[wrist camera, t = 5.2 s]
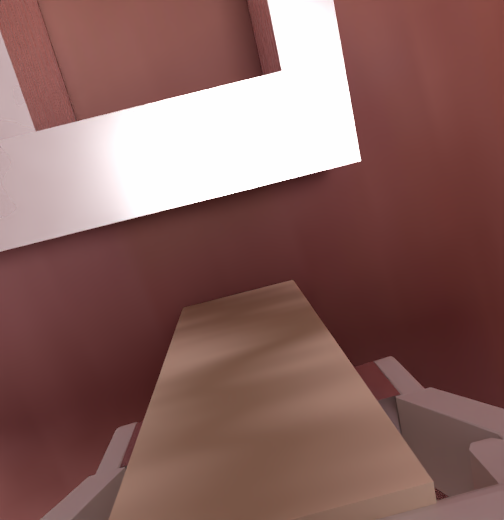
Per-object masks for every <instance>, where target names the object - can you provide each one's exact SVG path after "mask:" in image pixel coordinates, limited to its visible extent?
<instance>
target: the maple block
mask: <svg viewBox="0 0 504 520" xmlns="http://www.w3.org/2000/svg"><path fill="white" fill-rule="evenodd" d="M436 503H437V500H436V494H435V488H434V482H433V480H432V479H431V477H430V476H429V474H428V473H427V472H426V470H425V469H424V467H423V466H422V464H421V463H420V462H419V460H418V459H417V457H416V456H415V454H414V453H413V451H412V450H411V449H410V447H409V446H408V444H407V443H406V441H405V440H404V439H403V437H402V436H401V434H400V433H399V431H398V430H397V428H396V427H395V426H394V424H393V423H392V421H391V420H390V418H389V417H388V415H387V414H386V413H385V411H384V410H383V408H382V407H381V405H380V404H379V403H378V401H377V400H376V398H375V397H374V395H373V394H372V392H371V391H370V390H369V388H368V387H367V385H366V384H365V382H364V381H363V380H362V378H361V377H360V375H359V374H358V372H357V371H356V369H355V368H354V367H353V365H352V364H351V362H350V361H349V359H348V358H347V357H346V355H345V354H344V352H343V351H342V349H341V348H340V346H339V345H338V344H337V342H336V341H335V339H334V338H333V336H332V335H331V334H330V332H329V331H328V329H327V328H326V326H325V325H324V323H323V322H322V321H321V319H320V318H319V316H318V315H317V313H316V312H315V310H314V309H313V308H312V306H311V305H310V303H309V302H308V300H307V299H306V298H305V296H304V295H303V293H302V292H301V290H300V289H299V287H298V286H297V285H296V283H295V282H294V280H289V281H286V282H282V283H278V284H274V285H270V286H266V287H262V288H258V289H254V290H250V291H246V292H243V293H239V294H235V295H231V296H227V297H223V298H219V299H215V300H211V301H207V302H203V303H199V304H196V305H192V306H188V307H184V308H183V309H182V312H181V315H180V318H179V321H178V323H177V326H176V329H175V332H174V335H173V338H172V340H171V343H170V346H169V349H168V352H167V355H166V358H165V360H164V363H163V366H162V369H161V372H160V375H159V378H158V380H157V383H156V386H155V389H154V392H153V395H152V397H151V400H150V403H149V406H148V409H147V412H146V415H145V417H144V420H143V423H142V426H141V429H140V432H139V434H138V437H137V440H136V443H135V446H134V449H133V452H132V454H131V457H130V460H129V463H128V466H127V469H126V471H125V474H124V477H123V480H122V483H121V486H120V489H119V491H118V494H117V497H116V500H115V503H114V506H113V509H112V511H111V514H110V517H109V520H376V519H380V518H384V517H388V516H391V515H395V514H399V513H403V512H406V511H410V510H414V509H418V508H421V507H425V506H429V505H433V504H436Z"/></svg>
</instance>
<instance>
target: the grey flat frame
mask: <svg viewBox="0 0 504 520" xmlns="http://www.w3.org/2000/svg"><path fill="white" fill-rule="evenodd" d="M247 4H248V9H249V13H250V18H251V22H252V27H253V32H254V36H255V41H256V45H257V50H258V54H259V59H260V64H261V68H262V73H263V76H259V77H255V78H251V79H247V80H243V81H239V82H235V83H231V84H227V85H223V86H219V87H215V88H211V89H206V90H202V91H198V92H194V93H190V94H186V95H182V96H178V97H174V98H170V99H166V100H162V101H158V102H154V103H150V104H146V105H142V106H137V107H133V108H129V109H125V110H121V111H117V112H113V113H109V114H105V115H101V116H97V117H93V118H89V119H85V120H81V121H76V118H75V115H74V112H73V109H72V106H71V103H70V100H69V97H68V94H67V91H66V88H65V85H64V82H63V79H62V76H61V73H60V70H59V66H58V63H57V60H56V57H55V54H54V51H53V48H52V45H51V42H50V39H49V36H48V33H47V30H46V27H45V24H44V21H43V18H42V15H41V12H40V9H39V6H38V3H37V0H0V252H1V251H5V250H9V249H13V248H17V247H21V246H25V245H29V244H33V243H36V242H40V241H44V240H48V239H52V238H56V237H60V236H64V235H68V234H72V233H76V232H80V231H84V230H88V229H92V228H96V227H100V226H104V225H108V224H112V223H116V222H120V221H124V220H128V219H132V218H136V217H140V216H144V215H148V214H152V213H156V212H160V211H164V210H168V209H172V208H176V207H180V206H184V205H188V204H192V203H196V202H200V201H204V200H208V199H212V198H216V197H220V196H224V195H228V194H232V193H236V192H240V191H244V190H248V189H252V188H256V187H260V186H264V185H268V184H272V183H276V182H280V181H284V180H288V179H292V178H296V177H300V176H304V175H308V174H312V173H316V172H320V171H324V170H328V169H332V168H336V167H340V166H344V165H348V164H352V163H356V162H360V161H361V158H360V152H359V146H358V141H357V135H356V129H355V123H354V118H353V112H352V106H351V100H350V94H349V89H348V83H347V77H346V71H345V65H344V60H343V54H342V48H341V42H340V37H339V31H338V25H337V19H336V13H335V8H334V2H333V0H247Z"/></svg>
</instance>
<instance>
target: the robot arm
mask: <svg viewBox="0 0 504 520" xmlns="http://www.w3.org/2000/svg"><path fill="white" fill-rule="evenodd" d="M354 368H355V369H356V371H357V372H358V374H359V375H360V377H361V378H362V380H363V381H364V382H365V384H366V385H367V387H368V388H369V390H370V391H371V392H372V394H373V395H374V397H375V398H376V400H377V401H378V403H379V404H380V405H381V407H382V408H383V410H384V411H385V413H386V414H387V415H388V417H389V418H390V420H391V421H392V423H393V424H394V426H395V427H396V428H397V430H398V431H399V433H400V434H401V436H402V437H403V439H404V440H405V441H406V443H407V444H408V446H409V447H410V449H411V450H412V451H413V453H414V454H415V456H416V457H417V459H418V460H419V462H420V463H421V464H422V466H423V467H424V469H425V470H426V472H427V473H428V474H429V476H430V477H431V479H432V480H433V482H434V487H435V488H436V489H438V490H439V491H441V492H442V493H444V494H445V495H447V496H448V497H447V498H443V499H440V500H437V503H436V504H433V505H429V506H425V507H421V508H418V509H414V510H410V511H406V512H403V513H399V514H395V515H391V516H388V517H384V518H380V519H376V520H504V409H503V408H499V407H496V406H493V405H489V404H486V403H482V402H479V401H476V400H472V399H469V398H466V397H462V396H459V395H455V394H452V393H449V392H445V391H442V390H439V389H435V388H432V387H430V388H426V389H425V388H424V387H423V386H422V385H421V384H420V383H419V382H418V381H417V380H416V379H415V378H414V377H413V376H412V375H411V374H410V373H409V372H408V371H407V370H406V369H405V368H404V367H403V366H402V365H401V364H400V363H399V362H398V361H397V360H396V359H395V358H394V357H392V356H389V357H385V358H382V359H379V360H375V361H372V362H369V363H365V364H362V365H358V366H355V367H354ZM142 423H143V421H140V422H135V423H131V424H127V425H124V426H120V427H118V428H117V429H116V430H115V432H114V435H113V437H112V439H111V441H110V443H109V446H108V448H107V450H106V452H105V454H104V456H103V459H102V461H101V463H100V465H99V467H98V469H97V472H96V474H95V475H92V476H89V477H87V478H86V479H85V480H84V481H83V482H82V483H81V484H80V485H78V486H77V487H76V488H75V489H74V490H73V491H72V492H71V493H69V494H68V495H67V496H66V497H65V498H64V499H63V500H62V501H60V502H59V503H58V504H57V505H56V506H55V507H54V508H53V509H51V510H50V511H49V512H48V513H47V514H46V515H45V516H44V517H42V518H41V519H40V520H109V517H110V514H111V511H112V509H113V506H114V503H115V500H116V497H117V494H118V491H119V489H120V486H121V483H122V480H123V477H124V474H125V471H126V469H127V466H128V463H129V460H130V457H131V454H132V452H133V449H134V446H135V443H136V440H137V437H138V434H139V432H140V429H141V426H142Z"/></svg>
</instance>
